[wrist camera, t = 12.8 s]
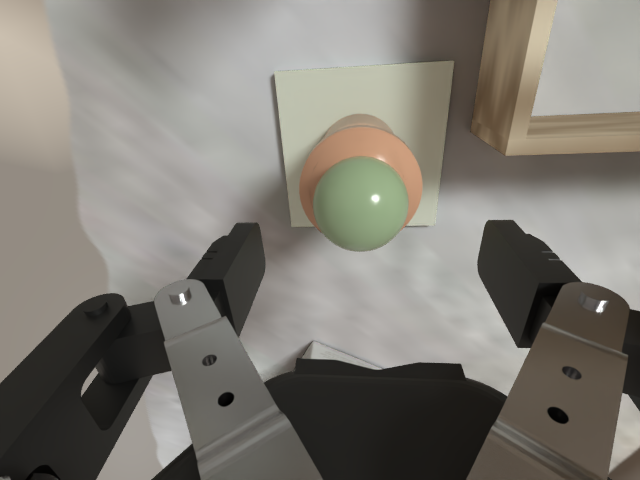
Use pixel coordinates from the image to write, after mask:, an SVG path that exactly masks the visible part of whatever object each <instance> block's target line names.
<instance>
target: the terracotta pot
mask: <svg viewBox="0 0 640 480" xmlns="http://www.w3.org/2000/svg"><path fill="white" fill-rule="evenodd" d="M422 185H423V183H422V175H421V171H420V168H419V165H418V163H417V161H416V159H415V157H414V155H413V154H412V152H411V150H410V149H409V147H408V146H407V145H406V144H405V143H404V142H403V141H402V140H401V139H400V138H399V137H398V136H396V135H394V133H393V131H392V130H391V128H390V127H389V126H388V125H387V124H386V123H385V122H384V121H382V120H381V119H379V118H377V117H375V116H372V115H368V114H352V115H348V116H346V117H343V118H341V119H340V120H338V121H336V122H335V123H334V124H333V125H332V126H331V127H330V128H329V129H328V131H327V132H326V134H325V135H324V137H323V139H322V140H321V141H320V142H319V143H318V144H317V145H316V146H315V147H314V149H313V150H312V151H311V153H310V155H309V156H308V158H307V160H306V162H305V165H304V167H303V170H302V173H301V177H300V183H299V194H300V201H301V204H302V207H303V210H304V212H305V214H306V216H307V217H308V219H309V220H310V222H311V223H312V224H313V225H314V226H315V227H316V228H317V229H318V230H319V231H320V232H322V233H323V234H324V235H325V237H326V238H327V239H328V240H330V241H331V242H332V243H334V244H335V245H337V246H339V247H341V248H343V249H346V250H350V251H357V252H364V251H371V250H374V249H377V248H380V247H382V246H384V245H385V244H387V243H388V242H390V241H391V240H392V239H393V238H394V237H395V236H396V235H397V234H398V233H399V232H400V231H401V230H402V229H403V228H404V227H405V226H406V225H407V224H408V223H409V222H410V220H411V219H412V218H413V216H414V214H415V213H416V211H417V209H418V206H419V204H420V200H421V196H422Z"/></svg>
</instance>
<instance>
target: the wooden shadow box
mask: <svg viewBox="0 0 640 480" xmlns="http://www.w3.org/2000/svg"><path fill="white" fill-rule="evenodd" d="M557 1H558V0H490V6H489V12H488V19H487V26H486V32H485V39H484V45H483V52H482V58H481V65H480V72H479V78H478V85H477V91H476V98H475V104H474V111H473V118H472V124H471V131H470V132H471V133H473V134H474V135H476V136H477V137H479V138H480V139H482V140H483V141H485V142H486V143H487V144H489V145H490V146H492V147H493V148H495V149H496V150H498V151H499V152H501V153H502V154H503V155H505V156H512V155H543V154H574V153H604V152H635V151H640V112H623V113H601V114H578V115H555V116H533V117H531V113H532V109H533V105H534V100H535V96H536V92H537V88H538V83H539V79H540V75H541V70H542V66H543V62H544V57H545V53H546V49H547V44H548V40H549V36H550V31H551V27H552V23H553V18H554V14H555V10H556V5H557Z"/></svg>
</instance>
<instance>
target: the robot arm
mask: <svg viewBox="0 0 640 480" xmlns="http://www.w3.org/2000/svg"><path fill="white" fill-rule="evenodd" d="M477 265H478V273H479V276H480V278H481V280H482V282H483V284H484V286H485V288H486V289H487V291H488V293H489V295H490V297H491V299H492V301H493V303H494V304H495V306H496V308H497V310H498V312H499V314H500V316H501V318H502V319H503V321H504V323H505V325H506V327H507V329H508V331H509V332H510V334H511V336H512V338H513V340H514V342H515V344H516V346H517V347H518V348H531V349H530V351H529V353H528V355H527V357H526V359H525V361H524V363H523V366H522V368H521V370H520V372H519V374H518V376H517V378H516V380H515V382H514V384H513V387H512V389H511V391H510V393H509V395H508V397H507V396H506V395H504V394H503V393H501V392H499V391H497V390H496V389H494V388H492V387H490V386H488V385H485V384H483V383H481V382H478V381H475V380H472V379H469V378H465V375H464V372H463V369H462V366H461V364H451V363H421V362H419V363H413V364H408V365H403V366H397V367H392V368H387V369H381V370H375V369H371V368H367V367H363V366H359V365H355V364H351V363H347V362H343V361H339V360H331V359H301V358H297V361H296V367H295V371H292V372H288V373H285V374H281V375H279V376H276V377H274V378H272V379H270V380H268V381H266V382H263V381H262V379H261V377H260V375H259V374H258V372H257V370H256V368H255V366H254V365H253V363H252V361H251V359H250V358H249V356H248V354H247V352H246V350H245V349H244V347H243V345H242V343H241V342H240V340H239V336H240V333H241V331H242V328H243V326H244V323H245V321H246V318H247V316H248V313H249V311H250V308H251V306H252V303H253V301H254V298H255V296H256V293H257V291H258V288H259V286H260V283H261V281H262V278H263V276H264V272H265V256H264V250H263V244H262V238H261V232H260V227H259V224H258V223H236V224H235V226H234V227H233V229H232V230H231V232H230V233H229V235H228V236H222V237H221V238H219V239H218V240H216V241H215V242H213V243H212V244H211V246H210V247H209V249H208V250H207V253H205V254H204V255H203V257H202V260H200V261H199V262H198V264H197V265H196V267H195V268H194V269H193V271H192V272H191V273H190V275H189V276H188V278H187V279H186V280H180V281H176V282H174V283H171V284H169V285H167V286H166V287H164V288H163V289H161V290H160V291H159V292H158V293H157V295H156V296H155V298H154V301H152V302H147V303H142V304H137V305H132V306H127V304H126V301H125V299H124V297H123V296H121V295H119V294H115V293H110V294H103V295H99V296H96V297H93V298H91V299H88V300H86V301H84V302H83V303H81V304H79V305H78V306H77V307H76V308H74V309H73V310H72V311H71V313H69V315H67V316H66V317H65V318H64V319H63V320H62V321H61V322H60V323H59V324H58V326H56V327H55V329H54V330H53V331H52V332H51V333H50V334H49V335H48V336H47V337H46V338H45V339H44V340H43V341H42V342H41V343H40V344H39V345H38V346H37V347H36V348H35V349H34V350H33V351H32V352H31V353H30V354H29V355H28V356H27V357H26V358H25V359H24V360H23V361H22V362H21V363H20V364H19V365H18V366H17V367H16V368H15V369H14V370H13V371H12V372H11V373H10V374H9V375H8V376H7V377H6V378H5V379H4V380H3V381H2V382H1V383H0V480H96V479H97V476H98V475H99V473H100V471H101V469H102V467H103V466H104V464H105V462H106V460H107V458H108V457H109V455H110V453H111V451H112V449H113V447H114V446H115V444H116V442H117V440H118V438H119V436H120V434H121V433H122V431H123V429H124V427H125V425H126V423H127V422H128V420H129V418H130V416H131V414H132V412H133V411H134V409H135V407H136V405H137V403H138V401H139V400H140V398H141V396H142V394H143V392H144V391H145V389H146V387H147V385H148V383H149V381H150V380H151V378H152V376H153V375H155V374H159V373H164V372H168V371H172V373H173V377H174V380H175V384H176V387H177V391H178V394H179V398H180V401H181V405H182V408H183V412H184V415H185V419H186V422H187V426H188V429H189V433H190V436H191V440H192V444H191V445H190V446H189V447H188V448H187V449H185V450H184V451H183V452H182V453H181V454H180V455H179V456H178V457H176V458H175V459H174V460H173V461H172V462H171V463H170V464H168V465H167V466H166V467H165V468H164V469H163V470H162V471H161V472H159V473H158V474H157V475H156V476H155V477H154V478H153V479H151V480H611V479H610V478H609V477H608V472H609V466H610V460H611V454H612V449H613V443H614V437H615V431H616V426H617V420H618V414H619V408H620V402H621V397H622V393H625V394H628V395H629V397H630V398H631V399H632V401H633V402H634V404H635V405H636V407H637V408H638V409H639V411H640V311H636V310H631V309H630V307H629V305H628V303H627V302H626V301H625V300H624V299H623V298H622V297H621V296H619V295H618V294H616V293H615V292H613V291H611V290H609V289H607V288H604V287H602V286H599V285H595V284H591V283H585V282H582V281H581V280H580V279H579V278H578V277H577V276H576V275H575V274H574V273H573V272H572V271H571V270H570V269H569V268H568V267H567V266H566V265H565V264H564V262H563V261H562V260H560V258H559V257H558V256H557V255H556V254H555V253H552V250H551V249H550V248H549V247H548V246H547V245H546V244H545V243H544V242H543V241H541V240H540V239H538V238H536V237H534V236H532V235H531V234H525V233H524V231H523V230H522V229H521V228H520V227H519V226H518V225H517V224H516V223H515V221H513V220H488V221H487V222H486V224H485V227H484V232H483V237H482V241H481V246H480V251H479V256H478V264H477ZM95 367H96V369H97V371H98V372H99V373H98V374H97V376H96V377H95V378H94V380H93V381H92V383H91V384H90V385H89V387H88V388H87V390H86V391H85V392H84V394H83V395H82V397H81V390H82V386H83V384H84V382H85V380H86V378H87V377H88V376H89V374H90V373H91V372H92V370H93V369H94V368H95Z"/></svg>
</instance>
